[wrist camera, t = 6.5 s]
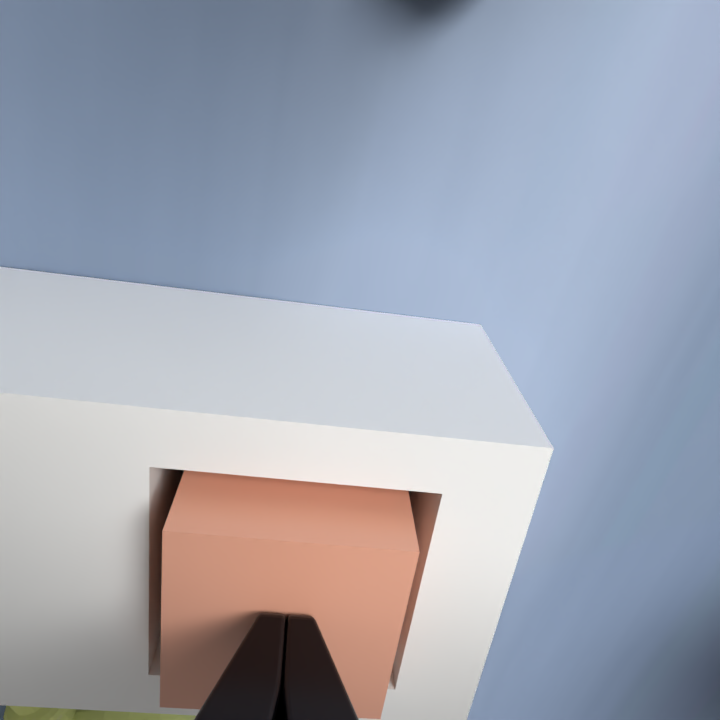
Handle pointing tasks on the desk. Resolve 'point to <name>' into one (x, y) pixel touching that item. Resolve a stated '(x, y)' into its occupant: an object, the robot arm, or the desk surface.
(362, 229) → the desk surface
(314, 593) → the orange button
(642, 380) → the desk surface
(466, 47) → the desk surface
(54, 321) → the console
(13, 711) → the key
